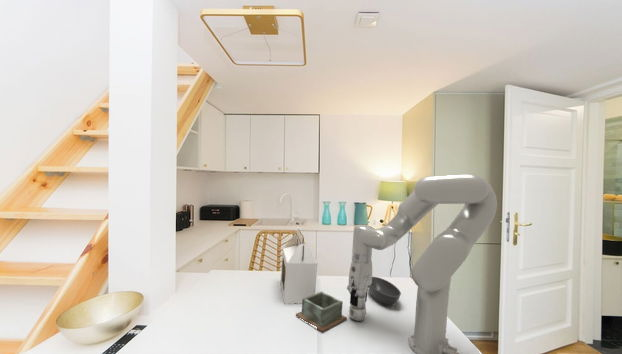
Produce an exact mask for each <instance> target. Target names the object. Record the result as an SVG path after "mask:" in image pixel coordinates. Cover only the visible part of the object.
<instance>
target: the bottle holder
mask: <svg viewBox="0 0 622 354" xmlns="http://www.w3.org/2000/svg"><path fill="white" fill-rule="evenodd" d="M343 303H344V302H343V301H342V300H340V299H338V298H335V297H334V296H332V295H330V294H328V293H326V292H324V291H319V292H317V293H315V294H314V295H311V296H309V297H306V298H303V300H302V304H301V311H299V312H298V313H295V317H296V316H298V317H299V318H301V319H303V320H304V321H306V322H308V323H310V324H312V325H314V326H316V327H317V330H316V331H318V332H320V334H324V333H326V332H327V331H328V332H329V330H331V329H333V328H335V327H337V326H339V325H341V324H342V323H344V322H346V321H347V320H348V317H347V316H345V315H344V314H343ZM298 317H297V318H298ZM299 318H298V319H299ZM301 319H300V320H301ZM304 321H303V322H304Z"/></svg>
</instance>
